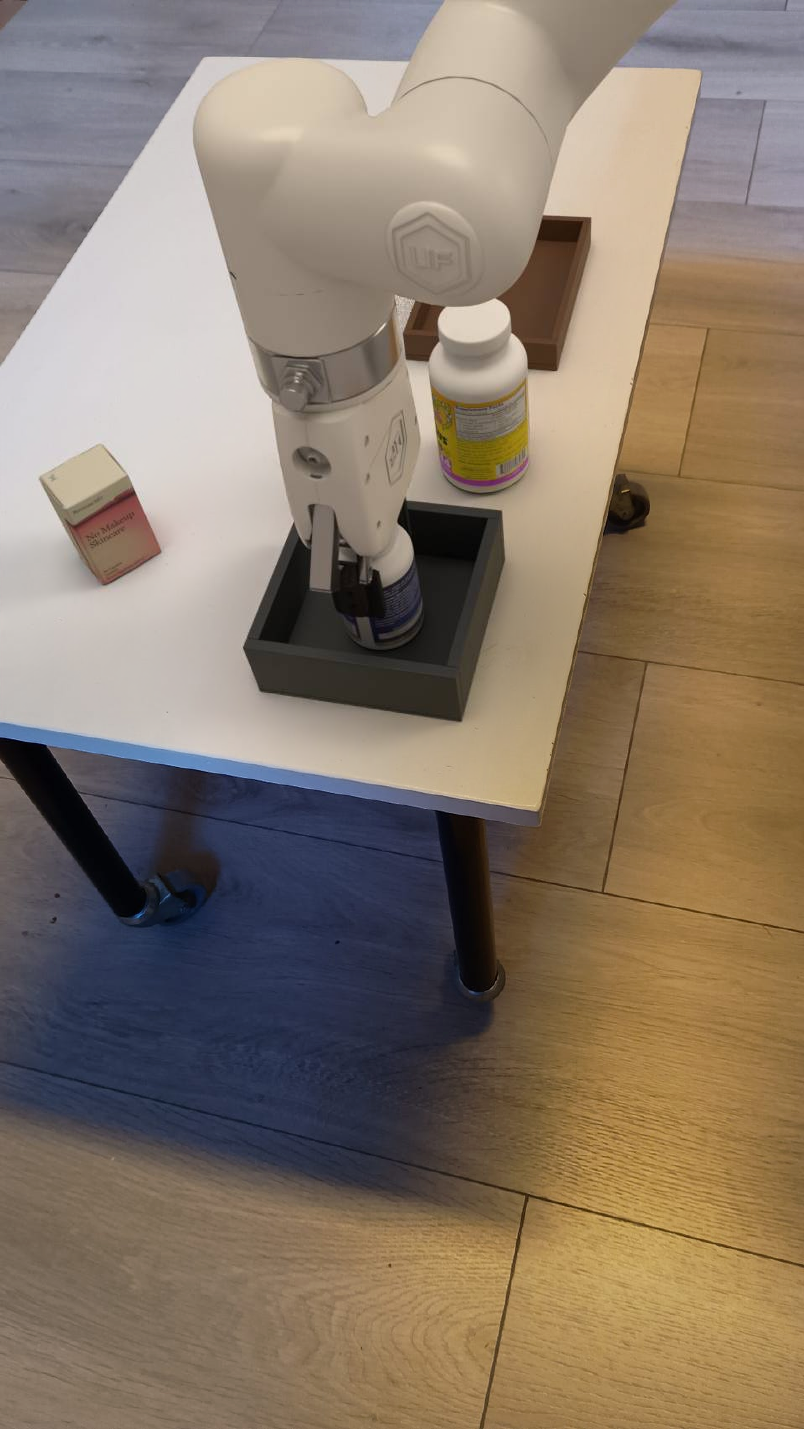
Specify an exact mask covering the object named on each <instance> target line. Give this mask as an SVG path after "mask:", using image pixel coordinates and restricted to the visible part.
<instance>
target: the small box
mask: <svg viewBox="0 0 804 1429" xmlns="http://www.w3.org/2000/svg"><path fill="white" fill-rule="evenodd" d="M38 480H39V482H40V485H41V486H42V488H43V490H44V492H45V494H46V495H47V498H48V500H49V502H50V503H51V506H52V507H53V510H54V511H55V513H56V515H57V517H58V519H59V520H60V523H61V525H62V526H63V528H64V530H65V532H66V533H67V536H68V538H69V539H70V541H71V543H72V545H73V546H74V548H75V551H76V552H77V554H78V555H79V557H80V559H81V560H82V561H83V562H84V564H85V565H86V566H87V567H88V569H89V571H91V573H92V574H93V575H94V576H95V577H96V578H97V579H98V581H99V582H100V583H101V584H103V585H107V584H109V583H111V582H112V581H114V580H115V579H118V578H119V577H121V576H123V575H124V574H126V573H128V572H130V571H131V570H133V569H135V568H136V567H138V566H140V565H141V564H143V563H144V562H146V561H148V560H150V559H151V558H153V557H155V556H156V555H159V553H160V552H161V550H162V549H161V547H160V544H159V542H158V540H157V537H156V535H155V533H154V531H153V529H152V527H151V524H150V521H149V520H148V517H147V515H146V512H145V511H144V508H143V506H142V504H141V502H140V499H139V496H138V494H137V492H136V490H135V488H134V485H133V482H132V480H131V478H130V476H129V474H128V472H127V471H126V470H125V469H124V467H123V466H122V464H121V463H120V462H119V461H118V460H117V459H116V457H115V456H114V455H113V454H112V452H110V450H108V448H107V447H106V446H105V444H103V443H98V444H96V445H94V446H92V447H90V448H89V449H86V450H84V451H83V452H82V453H79V454H78V455H75V456H73V457H71V458H69V459H67V460H65V461H63V463H60V464H59V465H58V466H56V467H54V468H52V469H51V470H49V471H47V472H45V473H43V474H42V475H40V476H38Z"/></svg>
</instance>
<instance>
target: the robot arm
mask: <svg viewBox="0 0 804 1429" xmlns="http://www.w3.org/2000/svg"><path fill="white" fill-rule="evenodd" d="M678 1H679V0H444V1H443V3H442V4H441V5H440V7H439V9H438V10H437V11H436V12H435V15H434V16H433V18H432V20H431V21H430V22H429V25H428V26H427V28H426V29H425V31H424V33H423V35H421V38H420V40H419V41H418V44H417V45H416V47H415V49H414V50H413V54H412V55H411V58H410V60H409V62H408V64H407V66H406V69H405V71H404V72H403V74H402V77H401V79H400V81H399V84H398V86H397V88H396V90H395V93H394V96H393V98H392V101H391V103H390V105H389V106H388V107H386V109H384V110H382V111H381V112H379V113H378V114H376V115H373V116H372V115H370V114H369V112H368V111H369V110H368V106H367V103H366V101H365V98H364V96H363V94H362V93H361V91H360V89H359V87H358V85H357V84H356V83H355V81H354V80H353V79H352V78H351V77H350V76H349V75H348V74H347V73H346V72H344V70H342V69H340V68H338V67H336V66H335V65H332V64H330V63H328V62H325V61H321V60H319V59H314V58H308V57H281V58H280V57H279V58H274V59H267V60H264V61H259V62H255V63H253V64H249V65H247V66H245V67H242V68H239V69H237V70H235V71H233V72H231V73H229V74H228V75H226V76H225V77H223V78H222V79H220V80H219V81H218V82H216V83H215V84H214V85H213V86H212V87H211V88H210V90H208V91H207V93H205V95H204V96H203V97H202V99H201V100H200V103H199V104H198V106H197V109H196V112H195V115H194V118H193V124H192V144H193V149H194V154H195V158H196V162H197V165H198V170H199V173H200V177H201V180H202V182H203V183H202V184H203V187H204V191H205V194H206V199H207V201H208V205H209V208H210V212H211V216H212V219H213V223H214V226H215V230H216V234H217V237H218V241H219V244H220V248H221V251H222V255H223V258H224V263H225V265H226V269H227V273H228V275H229V279H230V283H231V286H232V289H233V293H234V296H235V301H236V304H237V307H238V311H239V314H240V317H241V321H242V325H243V329H244V333H245V336H246V340H247V343H248V346H249V350H250V354H251V357H252V360H253V365H254V367H255V371H256V375H257V378H258V381H259V385H260V387H261V389H262V390H263V391H264V393H265V394H266V395H267V396H268V397H269V398H270V399H271V412H272V420H273V427H274V433H275V434H274V435H275V442H276V447H277V452H278V453H277V454H278V459H279V464H280V470H281V473H282V479H283V483H284V488H285V493H286V497H287V498H286V499H287V502H288V505H289V509H290V513H291V516H292V520H293V522H294V523H295V526H296V529H297V531H298V534H299V536H300V538H301V540H302V542H303V543H304V545H305V546H306V547H307V548H308V549H311V568H310V590H311V591H318V592H325V593H331V594H332V598H333V601H334V605H335V609H336V611H337V612H339V613H341V614H347V615H349V616H352V617H360V618H362V617H371V618H378V619H383V618H384V617H385V615H386V612H387V607H386V602H385V597H384V592H383V587H382V582H381V577H380V573H379V571H377V570H376V569H373V567H372V557H375V556H377V555H379V554H380V553H381V552H382V551H383V550H384V549H385V547H386V546H387V544H388V542H389V540H390V538H391V535H392V533H393V530H394V527H395V524H396V522H397V523H398V525H400V526H401V527H402V528H403V529H404V530H405V531H406V532H407V533H408V535H409V537H410V539H411V536H412V532H411V526H410V519H409V513H408V507H407V501H406V500H407V496H406V495H407V493H408V490H409V487H410V484H411V481H412V478H413V474H414V472H415V469H416V466H417V463H418V458H419V454H420V451H421V450H420V449H421V432H420V426H419V421H418V420H419V419H418V414H417V410H416V404H415V403H416V402H415V399H414V394H413V388H412V383H411V379H410V374H409V370H408V365H407V362H406V356H405V352H404V350H403V348H404V347H403V340H402V336H401V328H400V322H399V315H398V309H397V308H398V307H397V302H396V296H398V297H401V298H405V299H407V300H411V301H414V302H415V301H418V302H423V303H427V304H431V305H439V306H447V307H468V306H474V305H479V304H483V303H486V302H488V301H491V300H493V299H495V298H497V297H498V296H500V295H501V294H503V293H504V292H505V291H507V290H508V289H509V288H510V287H511V286H512V285H513V284H514V283H515V282H516V281H517V279H518V278H519V277H520V276H521V274H522V273H523V271H524V269H525V267H526V265H527V263H528V261H529V259H530V256H531V254H532V252H533V249H534V245H535V242H536V239H537V235H538V232H539V228H540V224H541V220H542V217H543V215H544V212H545V209H546V205H547V203H548V202H547V201H548V198H549V193H550V188H551V184H552V181H553V177H554V175H555V170H556V167H557V163H558V159H559V155H560V152H561V149H562V145H563V141H564V139H565V136H566V132H567V129H568V127H569V125H570V123H571V122H572V120H573V119H574V117H575V116H576V114H577V113H578V112H579V111H580V109H581V107H582V106H584V104H585V102H586V101H587V100H588V99H589V97H591V95H592V94H593V93H594V92H595V91H596V89H597V88H598V87H599V86H600V84H601V83H602V82H603V81H604V80H605V79H606V77H608V75H609V73H611V71H612V70H613V69H614V68H615V66H617V64H618V63H619V62H620V61H621V60H622V59H623V58H624V57H625V55H626V54H627V53H628V52H629V51H630V50H631V49H632V48H633V46H634V45H635V44H636V43H637V42H638V41H639V39H641V38H642V36H643V35H644V34H645V33H646V32H647V31H648V30H649V29H650V28H651V26H653V24H655V23H656V22H657V21H658V20H659V19H660V18H661V17H662V16H663V15H664V14H665V13H666V12H667V11H668V10H669V9H670V8H671V7H672V6H674V5H675V4H676V3H677V2H678ZM339 547H346V548H352V549H353V550H354V551H355V552H356V553H357V562H351V561H343V560H339Z"/></svg>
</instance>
